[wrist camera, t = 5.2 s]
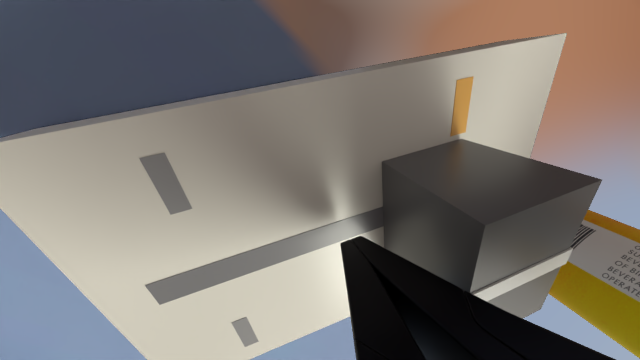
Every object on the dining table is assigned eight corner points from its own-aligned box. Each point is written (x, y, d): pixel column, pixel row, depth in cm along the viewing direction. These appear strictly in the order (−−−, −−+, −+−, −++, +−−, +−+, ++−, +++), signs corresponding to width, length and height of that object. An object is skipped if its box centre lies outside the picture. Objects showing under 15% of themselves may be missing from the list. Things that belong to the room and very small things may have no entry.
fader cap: (383, 261, 10) (455, 355, 7) (380, 161, 8) (485, 227, 5) (448, 236, 11) (543, 310, 8) (462, 138, 9) (606, 180, 5)
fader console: (188, 335, 12) (176, 390, 10) (34, 128, 7) (-56, 153, 5) (467, 227, 16) (503, 251, 13) (502, 41, 10) (567, 32, 8)
